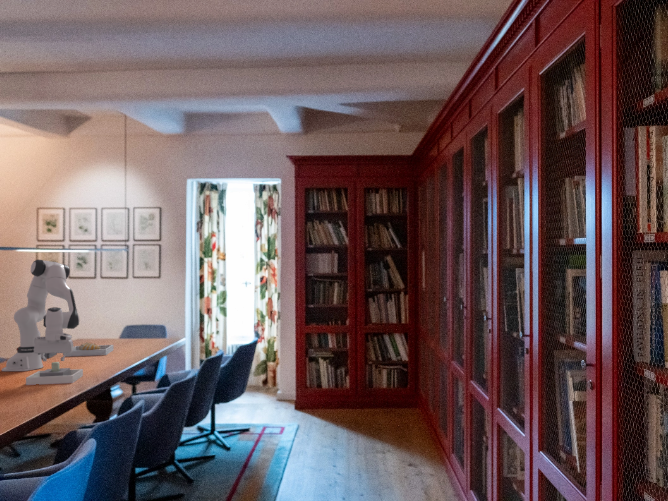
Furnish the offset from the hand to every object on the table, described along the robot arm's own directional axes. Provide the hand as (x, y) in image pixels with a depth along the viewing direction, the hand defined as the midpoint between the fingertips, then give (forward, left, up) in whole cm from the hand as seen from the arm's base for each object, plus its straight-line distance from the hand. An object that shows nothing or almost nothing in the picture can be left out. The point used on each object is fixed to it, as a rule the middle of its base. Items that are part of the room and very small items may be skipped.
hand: (53, 361), depth 298 cm
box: (+1, 0, -11) cm, 11 cm away
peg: (+1, 0, -10) cm, 10 cm away
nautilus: (-5, +90, -11) cm, 91 cm away
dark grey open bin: (-32, +82, -11) cm, 89 cm away
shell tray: (-5, +90, -11) cm, 91 cm away
